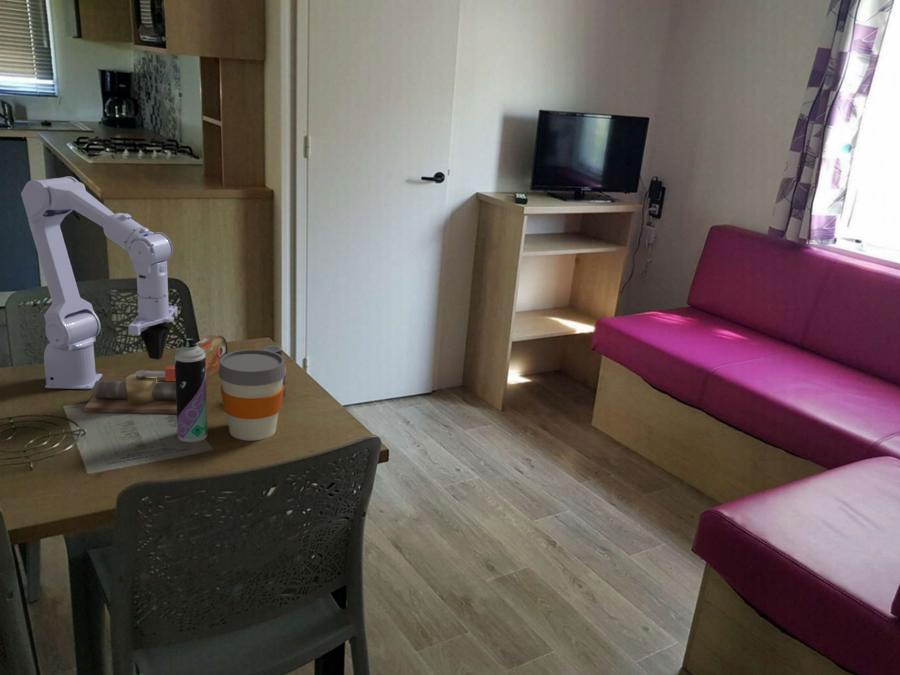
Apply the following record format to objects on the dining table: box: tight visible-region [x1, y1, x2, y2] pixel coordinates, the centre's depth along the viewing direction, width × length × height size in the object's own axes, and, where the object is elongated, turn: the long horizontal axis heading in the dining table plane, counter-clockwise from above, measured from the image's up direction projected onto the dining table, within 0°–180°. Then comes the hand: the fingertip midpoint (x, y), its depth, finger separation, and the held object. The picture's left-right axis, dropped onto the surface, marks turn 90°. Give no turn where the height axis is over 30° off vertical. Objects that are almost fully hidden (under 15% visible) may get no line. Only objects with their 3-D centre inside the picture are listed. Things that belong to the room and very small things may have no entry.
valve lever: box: [135, 364, 175, 382], centre depth 158 cm, size 10×2×3 cm, turn 97°
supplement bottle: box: [262, 345, 287, 398], centre depth 166 cm, size 6×6×11 cm
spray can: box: [174, 337, 208, 443], centre depth 144 cm, size 6×6×20 cm
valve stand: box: [83, 373, 177, 415], centre depth 159 cm, size 20×10×6 cm, turn 97°
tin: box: [195, 334, 229, 380], centre depth 176 cm, size 15×3×8 cm, turn 166°
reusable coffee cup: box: [218, 348, 287, 442], centre depth 150 cm, size 13×13×15 cm
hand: (155, 357), depth 157 cm, fingers closed
